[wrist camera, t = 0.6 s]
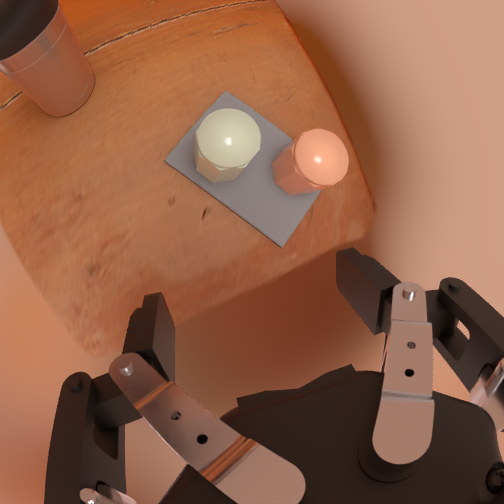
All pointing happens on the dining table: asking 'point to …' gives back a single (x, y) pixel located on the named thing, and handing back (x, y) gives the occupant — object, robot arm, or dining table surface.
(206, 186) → the slate mat
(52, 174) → the dining table surface
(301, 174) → the faceted peach canister
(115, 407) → the robot arm
